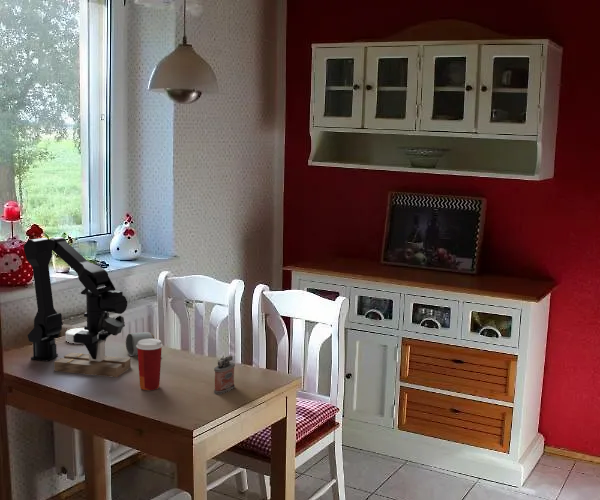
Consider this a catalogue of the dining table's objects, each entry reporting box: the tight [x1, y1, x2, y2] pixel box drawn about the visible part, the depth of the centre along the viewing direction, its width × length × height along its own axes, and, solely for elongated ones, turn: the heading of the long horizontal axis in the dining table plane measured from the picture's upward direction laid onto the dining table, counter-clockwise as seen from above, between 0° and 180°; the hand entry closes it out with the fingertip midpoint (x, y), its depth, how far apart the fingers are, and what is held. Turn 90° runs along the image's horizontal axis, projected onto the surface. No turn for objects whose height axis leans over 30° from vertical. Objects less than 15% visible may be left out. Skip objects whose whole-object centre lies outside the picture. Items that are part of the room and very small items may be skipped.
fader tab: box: [88, 340, 106, 362], centre depth 235 cm, size 4×3×8 cm
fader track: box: [53, 352, 132, 378], centre depth 236 cm, size 21×10×3 cm, turn 78°
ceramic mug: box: [125, 331, 156, 357], centre depth 254 cm, size 11×8×8 cm
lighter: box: [213, 354, 236, 395], centre depth 220 cm, size 8×3×10 cm, turn 148°
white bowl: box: [65, 327, 88, 345], centre depth 267 cm, size 10×10×4 cm
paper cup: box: [136, 338, 164, 391], centre depth 221 cm, size 8×8×14 cm
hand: (96, 357), depth 235 cm, fingers closed on fader tab, 3 cm apart
